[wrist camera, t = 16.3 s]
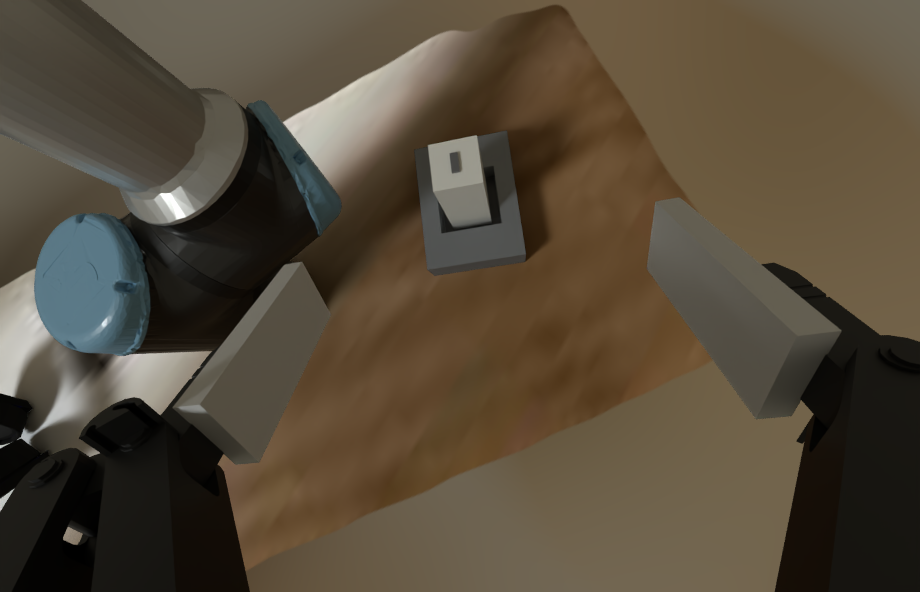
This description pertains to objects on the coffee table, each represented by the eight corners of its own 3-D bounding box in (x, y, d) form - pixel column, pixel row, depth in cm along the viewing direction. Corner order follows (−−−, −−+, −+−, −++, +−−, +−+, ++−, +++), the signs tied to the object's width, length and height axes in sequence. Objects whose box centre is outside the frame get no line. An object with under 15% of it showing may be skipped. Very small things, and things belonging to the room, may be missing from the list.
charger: (492, 223, 46) (482, 181, 34) (454, 229, 47) (432, 190, 35) (486, 187, 47) (476, 133, 35) (449, 194, 48) (427, 143, 36)
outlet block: (525, 261, 46) (525, 254, 42) (434, 275, 48) (427, 269, 44) (507, 147, 48) (506, 130, 45) (422, 164, 50) (414, 149, 46)
